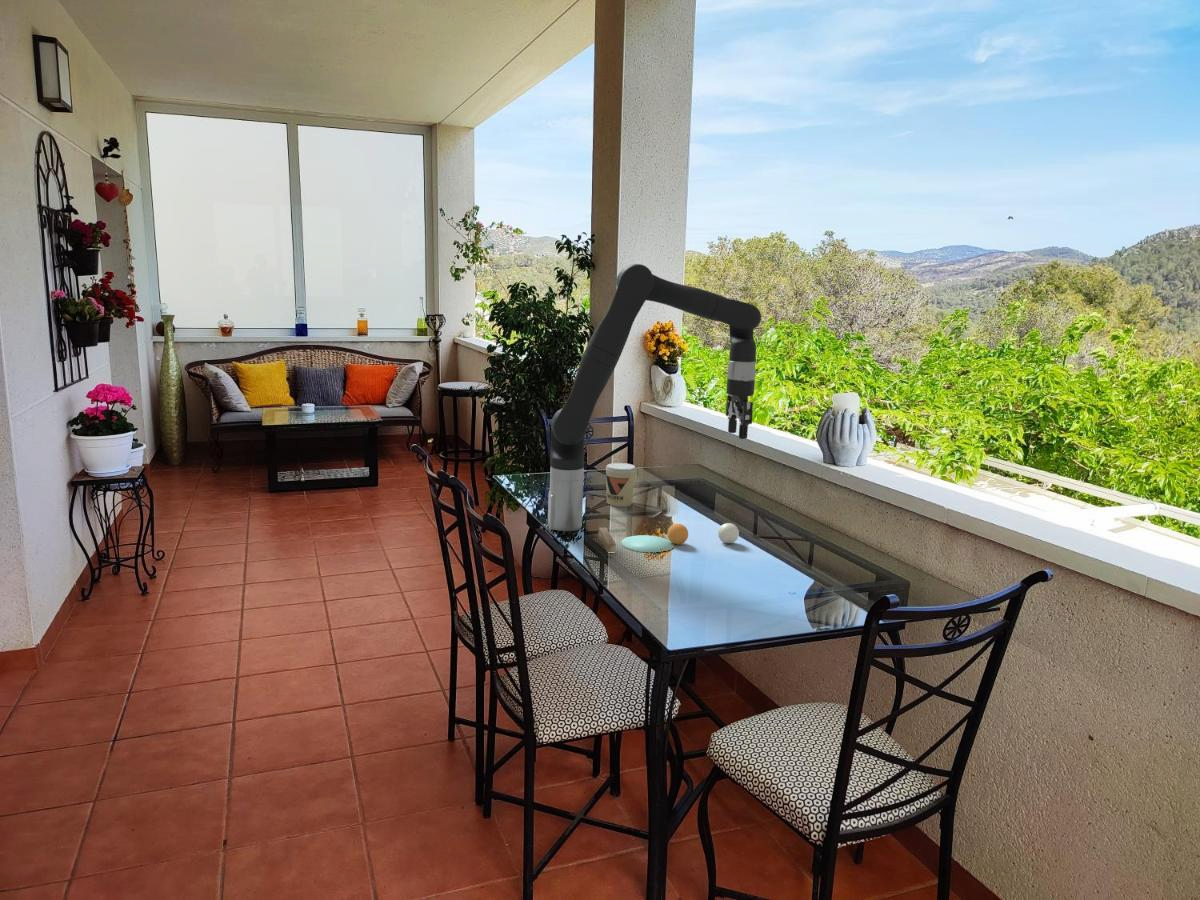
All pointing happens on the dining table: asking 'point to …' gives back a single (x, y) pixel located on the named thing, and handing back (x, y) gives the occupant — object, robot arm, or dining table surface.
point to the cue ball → (728, 533)
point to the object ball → (677, 533)
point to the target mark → (647, 543)
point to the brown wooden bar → (607, 540)
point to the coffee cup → (620, 483)
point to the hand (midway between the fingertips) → (737, 435)
